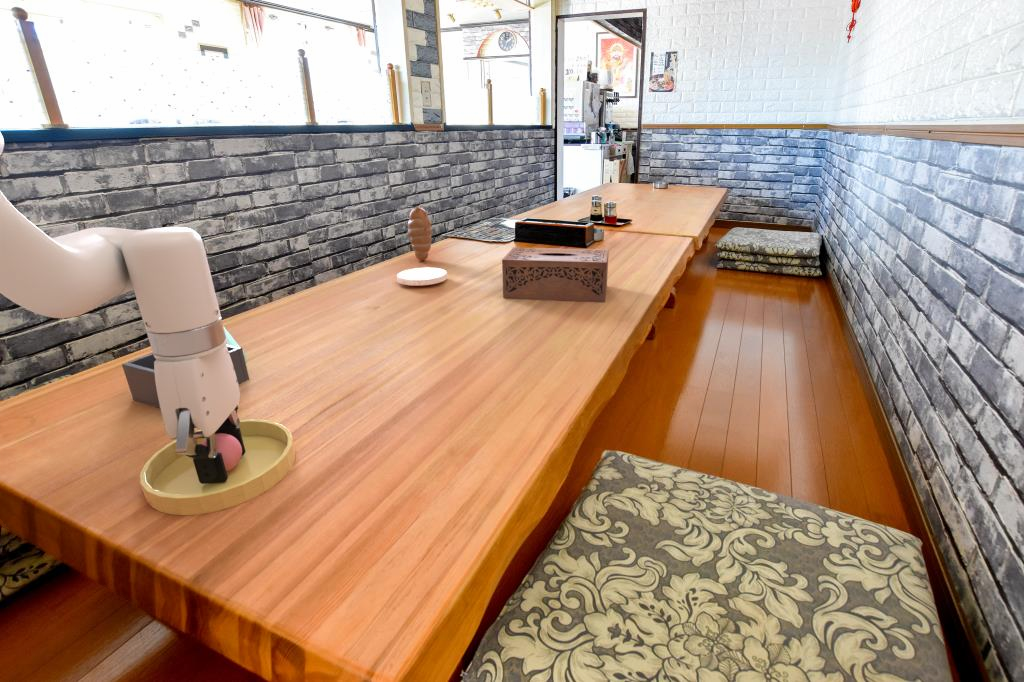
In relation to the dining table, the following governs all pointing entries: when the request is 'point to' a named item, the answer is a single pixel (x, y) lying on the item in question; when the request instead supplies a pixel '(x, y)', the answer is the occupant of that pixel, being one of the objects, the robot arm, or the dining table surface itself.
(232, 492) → the tray
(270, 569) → the dining table surface
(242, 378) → the bin
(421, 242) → the croissant
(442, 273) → the plastic lid
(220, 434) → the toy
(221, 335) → the robot arm
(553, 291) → the tissue box cover
